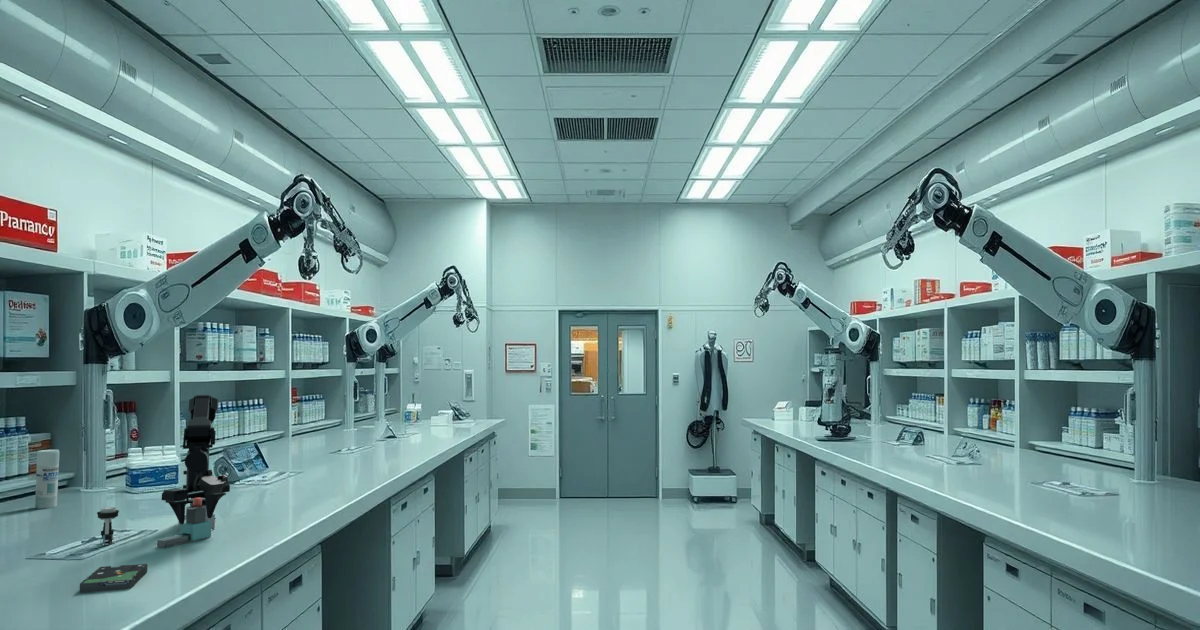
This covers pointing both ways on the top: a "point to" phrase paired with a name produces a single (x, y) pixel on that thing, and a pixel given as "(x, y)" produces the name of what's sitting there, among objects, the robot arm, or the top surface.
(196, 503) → the plunger
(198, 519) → the carriage
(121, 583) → the disk drive
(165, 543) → the rail
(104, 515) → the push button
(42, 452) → the spray paint can
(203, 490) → the robot arm
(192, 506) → the grey piece
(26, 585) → the top surface
